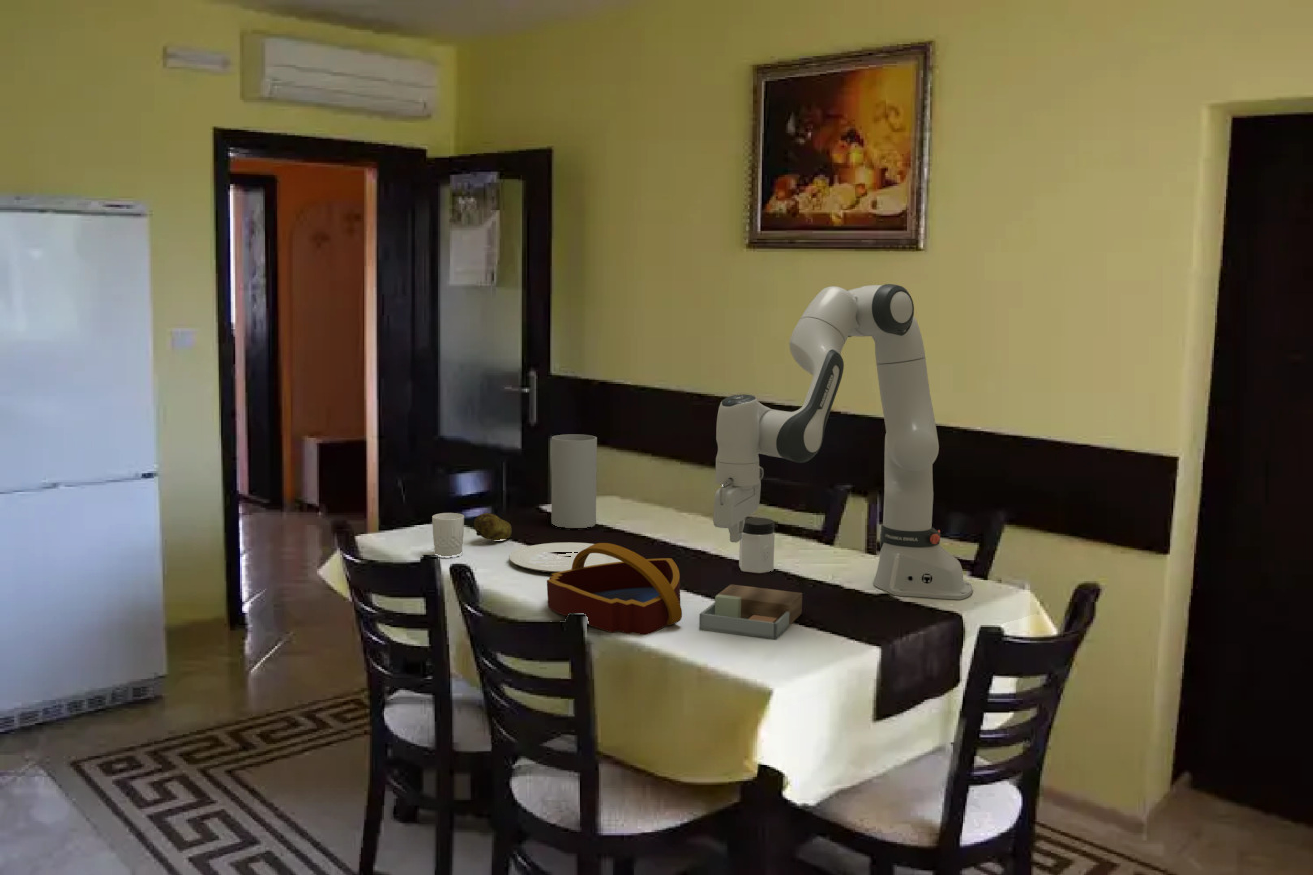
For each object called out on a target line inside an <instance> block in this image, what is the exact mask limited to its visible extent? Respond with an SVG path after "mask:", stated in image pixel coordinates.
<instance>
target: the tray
mask: <svg viewBox="0 0 1313 875" xmlns="http://www.w3.org/2000/svg"><path fill="white" fill-rule="evenodd" d="M698 620H699V621H698V622H699V623H698V625H699V626H698V629H699V630H702V631H711V632H716V633H717V632H718V633H725V634H733V635H740V636H747V637H753V638H762V639H767V640H775V641H777V640H778V639H779V638H780V637H781V636H782V635H783V633H785V631H787V630H788V628H789V627H790V626H789V612H786V613H785V614H783V615H782V616H781V617H780V618H779V619H778V620H777V621H776V622H775V623H772V622H764V621H756V620H749V619H747V618H734V617H726V616H719V615H715V601H714V602H713V603H712V604H710V605H709V606H707V607H706V608H705V609H704V610H703V611H701V612H700V613H699V619H698Z"/></svg>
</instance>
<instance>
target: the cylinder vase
mask: <svg viewBox="0 0 1313 875" xmlns="http://www.w3.org/2000/svg"><path fill="white" fill-rule="evenodd" d="M597 446H598V437H597V436H594V435H589V434H575V433H574V434H573V433H572V434H569V433H567V434H560V435H559V434H557V435H553V436H551V513H550V514H551V525H552V524H553V525H555V526H557V527H565V528H587V527H591V528H593V527H595V525H596V524H597V472H598V471H597V469H598V468H597V467H598V466H597V459H598V457H597V455H598V454H597V452H598V451H597V449H598V447H597ZM553 525H552V526H553ZM557 527H556V528H557ZM587 529H588V528H587Z"/></svg>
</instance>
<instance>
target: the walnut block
mask: <svg viewBox="0 0 1313 875" xmlns="http://www.w3.org/2000/svg"><path fill="white" fill-rule="evenodd" d="M718 594H720V595H728V596H736V597H741V618H747V619H749V618H750V617H751V616H753V615H758V616H765V617H773V618H777V620H778V619H779V618H780V617H781V616H782V615H783V614H785V613H786V612H789V627H790V626H791V625H792V624H794V622H795V621H796V620H797V619H798V618H799V617H800V616H801V615H802V612H803V611H802V610H803V608H802V607H803V592H797V591H786V590H782V589H781V590H780V589H771V588H764V587H756V586H748V585H747V586H746V585H739V584H729V585H728V586H727V587H725V588H724V589H723V590H721V591H720V592H719V593H718ZM718 594H716V595H715V596H717V595H718Z"/></svg>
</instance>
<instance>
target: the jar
mask: <svg viewBox="0 0 1313 875" xmlns="http://www.w3.org/2000/svg"><path fill="white" fill-rule="evenodd" d="M738 550H739V555H738V557H739V559H738V567H739V568H740V571H741V572H746V573H754V574H764V573H771V572H773V571H774V565H775V564H774V561H775V559H774V558H775V521H774V520H773V519H771V518H766V517H746V518H745V524H744V528H743V531H742V539H741V540H740V541H739V549H738ZM770 571H771V572H770Z"/></svg>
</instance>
